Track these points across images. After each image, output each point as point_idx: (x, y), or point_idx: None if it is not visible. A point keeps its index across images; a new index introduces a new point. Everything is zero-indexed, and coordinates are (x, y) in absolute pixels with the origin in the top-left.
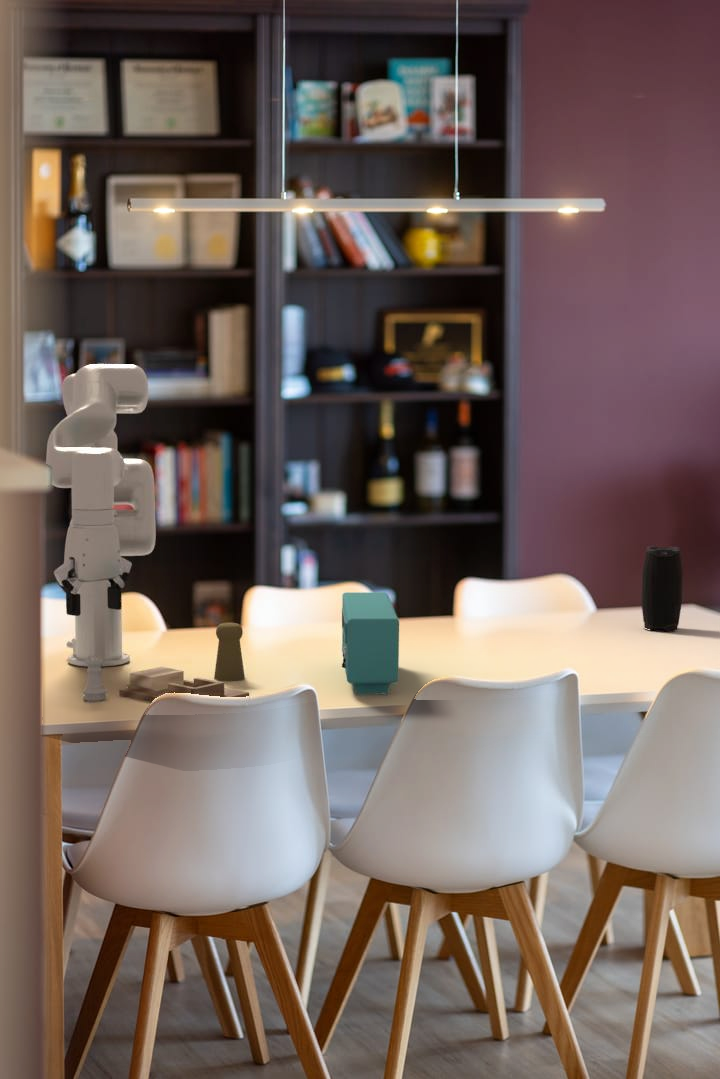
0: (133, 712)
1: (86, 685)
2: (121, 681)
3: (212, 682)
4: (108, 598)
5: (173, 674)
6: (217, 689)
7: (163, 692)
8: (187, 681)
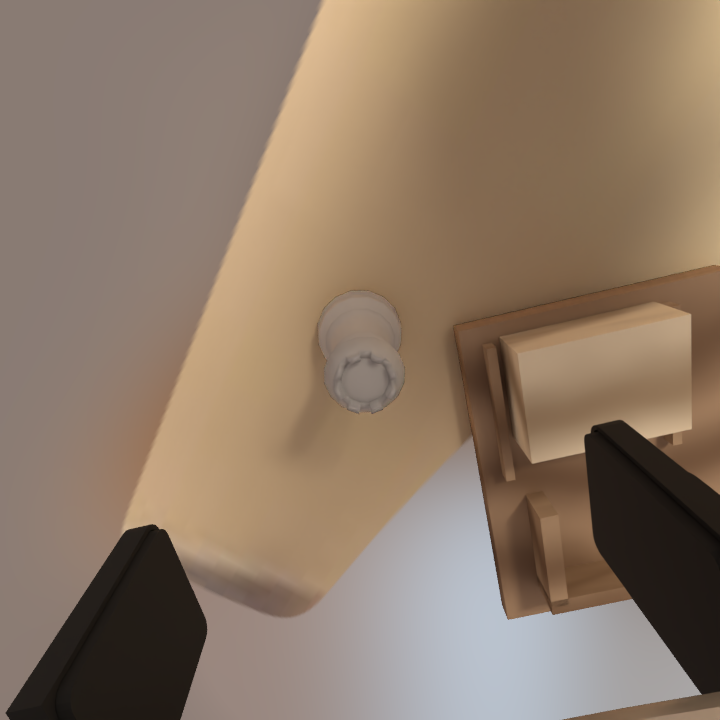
0: (370, 533)
1: (331, 333)
2: (608, 86)
3: None
4: (632, 493)
5: None
6: None
7: None
8: None
